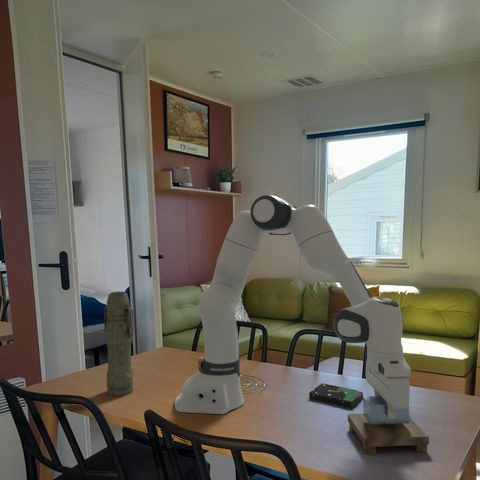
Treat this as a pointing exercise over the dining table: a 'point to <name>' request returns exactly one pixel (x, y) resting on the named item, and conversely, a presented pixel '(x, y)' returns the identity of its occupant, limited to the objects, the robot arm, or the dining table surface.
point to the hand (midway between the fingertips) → (385, 411)
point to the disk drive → (336, 395)
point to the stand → (387, 434)
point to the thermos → (119, 344)
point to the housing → (382, 411)
